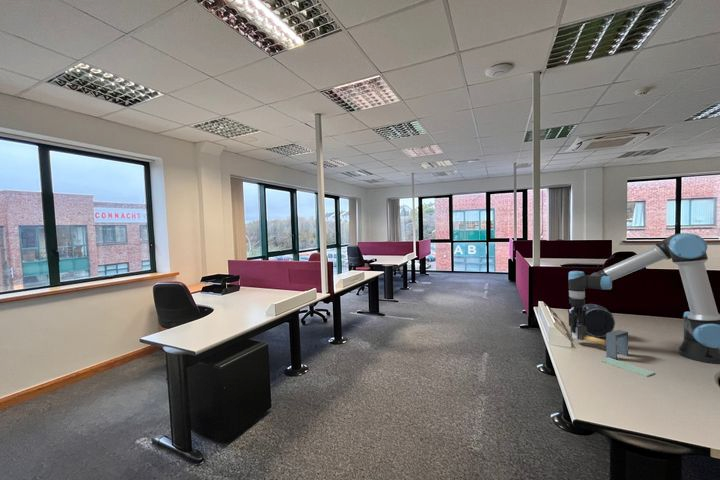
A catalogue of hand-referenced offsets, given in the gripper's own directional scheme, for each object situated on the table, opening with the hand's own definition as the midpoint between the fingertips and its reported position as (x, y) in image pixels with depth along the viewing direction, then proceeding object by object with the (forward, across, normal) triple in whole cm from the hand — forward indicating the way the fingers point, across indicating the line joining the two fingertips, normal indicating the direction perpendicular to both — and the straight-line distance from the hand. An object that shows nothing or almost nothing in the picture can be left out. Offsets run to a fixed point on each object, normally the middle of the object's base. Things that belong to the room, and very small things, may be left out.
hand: (577, 337), depth 169 cm
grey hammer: (0, 0, +6) cm, 6 cm away
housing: (+4, 0, +19) cm, 19 cm away
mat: (+4, +11, +28) cm, 30 cm away
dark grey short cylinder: (+4, -22, -4) cm, 22 cm away
